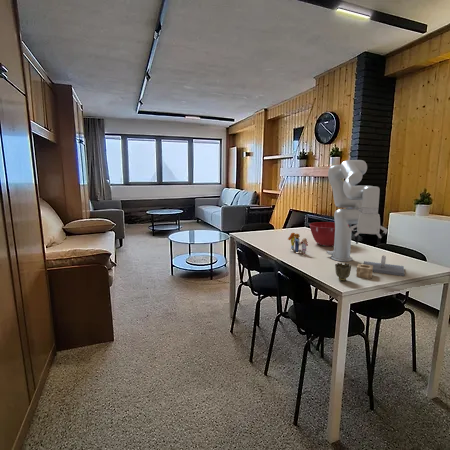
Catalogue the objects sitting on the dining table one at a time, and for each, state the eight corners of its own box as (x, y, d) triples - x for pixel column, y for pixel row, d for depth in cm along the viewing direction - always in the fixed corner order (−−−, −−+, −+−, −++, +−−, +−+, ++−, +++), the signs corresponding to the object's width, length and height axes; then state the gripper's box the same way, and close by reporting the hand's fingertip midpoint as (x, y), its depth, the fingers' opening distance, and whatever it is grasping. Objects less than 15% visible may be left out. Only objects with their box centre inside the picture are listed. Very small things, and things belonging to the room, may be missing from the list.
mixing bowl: (300, 244, 221) (301, 224, 219) (321, 238, 240) (322, 220, 237) (335, 251, 200) (337, 229, 198) (354, 244, 219) (356, 224, 216)
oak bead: (356, 276, 149) (357, 267, 148) (357, 272, 155) (358, 263, 154) (371, 278, 146) (372, 269, 145) (372, 274, 152) (373, 265, 151)
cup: (333, 281, 142) (334, 266, 141) (334, 277, 149) (335, 262, 147) (350, 283, 139) (351, 267, 138) (350, 279, 146) (351, 263, 144)
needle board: (361, 270, 159) (362, 256, 158) (363, 263, 171) (364, 250, 170) (404, 276, 149) (405, 261, 148) (403, 268, 161) (404, 254, 160)
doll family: (308, 255, 189) (309, 235, 187) (294, 256, 188) (295, 236, 186) (296, 247, 210) (297, 230, 208) (284, 248, 209) (284, 230, 207)
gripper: (350, 211, 146) (348, 244, 149) (389, 212, 138) (386, 247, 140) (351, 209, 153) (349, 241, 155) (389, 211, 144) (386, 244, 147)
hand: (367, 244), depth 148 cm, fingers open, 9 cm apart
